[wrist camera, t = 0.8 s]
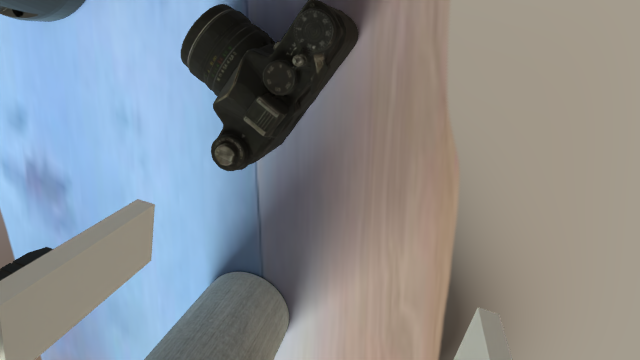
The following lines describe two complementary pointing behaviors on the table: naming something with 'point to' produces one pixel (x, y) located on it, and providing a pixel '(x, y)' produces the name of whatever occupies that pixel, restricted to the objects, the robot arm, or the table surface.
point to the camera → (264, 74)
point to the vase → (229, 323)
